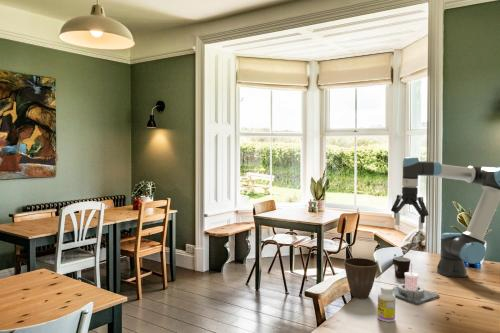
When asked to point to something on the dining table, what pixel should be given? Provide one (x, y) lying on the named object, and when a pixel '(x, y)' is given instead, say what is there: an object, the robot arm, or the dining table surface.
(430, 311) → the dining table surface
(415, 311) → the dining table surface
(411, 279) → the beverage cup
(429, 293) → the sleeve block
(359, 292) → the plant pot
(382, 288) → the supplement bottle
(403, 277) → the coffee mug
